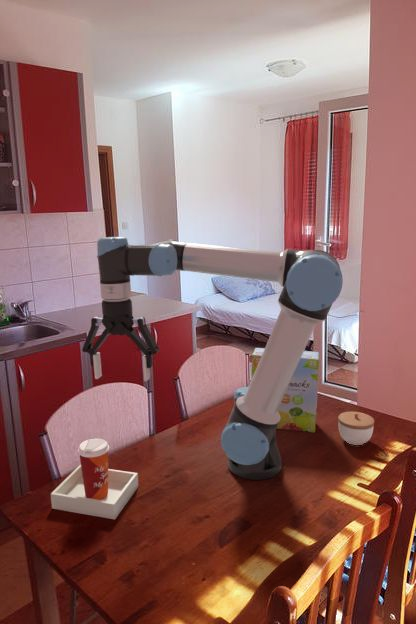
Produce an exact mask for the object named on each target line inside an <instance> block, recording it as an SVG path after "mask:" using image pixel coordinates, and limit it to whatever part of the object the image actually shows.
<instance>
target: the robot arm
mask: <svg viewBox="0 0 416 624" xmlns="http://www.w3.org/2000/svg"><path fill="white" fill-rule="evenodd" d="M96 244H97V245H96V246H97V248H96V250H97V255H96V258H97V264H98V273H99V287H100V297H101V299H102V301H101V311H102V317H100V316H99V315H96V316H94V317H92V318H91V320H90V321H91V322H90V328H89V331H88V333H87V336H86V339H85V342H84V344H83V347H82V349H81V350H82V352H83V353H88V355H89V358H90V361H89V362H90V365H91V366H93V372H94V379H95V380H98V379H100V378H101V377H103V374H102V373H103V372H102V361H101V351H100V352H99V349H100V348H101V346H102V345H103V344H104V343H105V341H106V340H107V338H108V337H109V336H110V335H111V336H117V335H118V336H126V337H128V338H129V339H130V340H131V341H132V342H133V343H134V344H135V346H137V348H138V349H139V350H140V351H141V352H142V353H143V355H142V370H143V371H142V372H143V382H147V381H149V380H150V378H151V370H150V369H151V368H152V367H153V365H154V364H153V363H154V362H153V355H156V354H157V353H158V352H159V351H160V348H159V346H158V345H157V342H156V340H155V339H154V337H153V335H152V334H151V331H150V330H149V328H148V326H147V323H146V318H145V316H141V317H138V318H137V317H136V318H134V315H133V304H132V303H133V301H132V299H131V296H132V287H131V276H132V277H133V276H157V277H162V276H172V275H173V274H175V272H176V271H181V272H183V271H184V272H192V273H199V274H200V273H201V274H206V275H207V274H210V275H217V276H225V277H233V278H240V279H241V278H242V279H250V280H256V281H257V280H258V281H267V282H272V283H273V282H275V283H278V284H279V285H280V286H281V287H283V288H282V290H281V292H280V294H279V297H278V299H277V303H278V304H279V306H280V310H279V314H278V316H277V318H276V319H277V320H276V321H275V322H274V325H273V326H274V327H273V328H272V331H271V333H270V335H269V338H268V339H267V342H266V345H265V347H264V348H265V349H264V352H263V354H262V357H261V359H260V361H259V364H258V366H257V368H256V371H255V373H254V376H253V378H252V380H250V383H249V384H248V385H249V386H243V387H239V388H237V389H236V390H235V391H234V396H233V400H234V401H233V403H234V405H233V408H232V410H231V412H230V415H229V417H228V420H227V422H226V425H224V426H225V427H223V429H222V431H221V435H220V436H221V437H220V445H221V449H222V450H223V452H224V454H225V455H226V456H227V467H228V469H229V470H230V472H231V473H232V474H234V475H235V476H237V477H239V478H242V479H245V480H253V481H257V480H259V481H260V480H267V479H271V478H274V477H275V476H276V475H278V474H279V473H280V471H281V470H282V457H281V453H280V450H279V449H278V448H279V447H278V444H277V441H276V438H277V437H276V435H277V433H276V432H277V431H276V430H277V429H276V428H277V426H278V423H279V421H280V414H279V412H278V408H279V405H280V403H281V401H282V399H283V397H284V394H285V392H286V390H287V388H288V385H289V383H290V381H291V379H292V376H293V374H294V372H295V370H296V367H297V365H298V363H299V361H300V358H301V356H302V354H303V352H304V351H306V350H305V349H306V347H307V345H308V343H309V340H310V338H311V335H312V333H313V332H314V330H315V327H316V325H317V324H320V323H323V322H324V321H326V319H327V317H328V314H329V312H330V310H331V308H332V306H333V304H334V303H335V302H336V300H337V299H338V298H339V296H340V294H341V292H342V288H343V282H344V281H343V274H342V270H341V268H340V264H339V262H338V261H337V259H336V258H335V256H333V255H332V254H331V253H330V252H327V251H325V250H322V249H321V250H320V249H305V250H304V249H289V248H287V249H285V250H283V251H282V252H279V251H268V250H261V249H249V248H239V247H230V246H221V245H213V244H204V243H203V244H202V243H201V244H200V243H192V242H181V241H178V240H176V239H166V240H163V241H160V242H154V243H150V244H137V245H136V244H135V245H134V244H129V242H128V238H127V237H125V236H108V237H107V236H106V237H100V238H98V240H97V243H96ZM134 324H135V326H136V327H138V330H139V332H140V334H141V335H139V334H138V333H137V331H136V328H135V327H133V326H134ZM101 325H103V326H104V328H105V329H104V330H103V331H102V333H101V335H100V336H99V337H98V339H97V340H96V341H95V337H96V336H97V333H98V331H99V329H100V326H101ZM141 336H142V337H141ZM94 341H95V342H94ZM93 342H94V344H93ZM92 345H93V346H92Z"/></svg>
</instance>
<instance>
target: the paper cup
mask: <svg viewBox="0 0 416 624" xmlns="http://www.w3.org/2000/svg"><path fill="white" fill-rule="evenodd" d="M109 450H110V445H109V443H108V442H107V441H106V440H105V439H103V438H97V437H95V438H89V439H86V440H84V441H82V442H81V443H80V444H79V447H78V449H77V453H78V455H79V459H80V462H79V463H80V465H81V469H82V476H83V483H84V489H85V495H86V498H90V499H96V500H102V499H104V498H105V497H106V496H107V495H108V469H109Z"/></svg>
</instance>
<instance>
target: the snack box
mask: <svg viewBox="0 0 416 624" xmlns="http://www.w3.org/2000/svg"><path fill="white" fill-rule="evenodd" d="M264 349H265V347H254V350H253V353H252V354H251V371H250V372H251V380H252V378H253V376H254V373H255V371H256V368H257V366H258V364H259V361H260V359H261V357H262V354H263V352H264ZM319 368H320V352H319V351H311V350H310V351H308V350H304V352H303V354H302V356H301V358H300V361H299V363H298V365H297V367H296V370H295V372H294V374H293V376H292V379H291V381H290V383H289V385H288V388H287V390H286V392H285V394H284V397H283V399H282V401H281V403H280V405H279V408H278V412H279V414H280V421H279V423H278V426H277V428H276V430H286V431H295V430H296V431H297V432H305V431H308V432H307V433H316V425H317V424H316V422H317V408H318V407H317V406H318V390H319V389H318V388H319V370H320V369H319ZM251 380H250V381H251Z"/></svg>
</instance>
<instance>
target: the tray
mask: <svg viewBox="0 0 416 624" xmlns="http://www.w3.org/2000/svg"><path fill="white" fill-rule="evenodd" d="M138 488H139V473H138V472H133V471H127V470H126V471H124V470H118V469H111V468H108V495H107V496H106V497H105V498H104V499H102V500H96V499H90V498H86V495H85V489H84V483H83V476H82V469H81V464H79V465H78V466H77V467H76V468H75V469H74V470H73V471H72V472H71V473H70V474H69V475H68V476H66V478H65V479H64V480H63V481H62V482H61V483H60V484H59V485H58V486H57V487H56V488H55V489H54V490H53V491H52V492H51V493H50V501H51V509H54V510H58V511H64V512H70V513H76V514H82V515H86V516H87V515H88V516H92V517H99V518H105V519H111V520H116V519H117V517H118V516H119V515H120V513H121V512H122V510H123V509H124V508H125V506H126V505H127V503H128V502H129V500H130V499H131V498H132V496H133V495H134V494H135V492H136V491H137V489H138Z"/></svg>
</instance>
